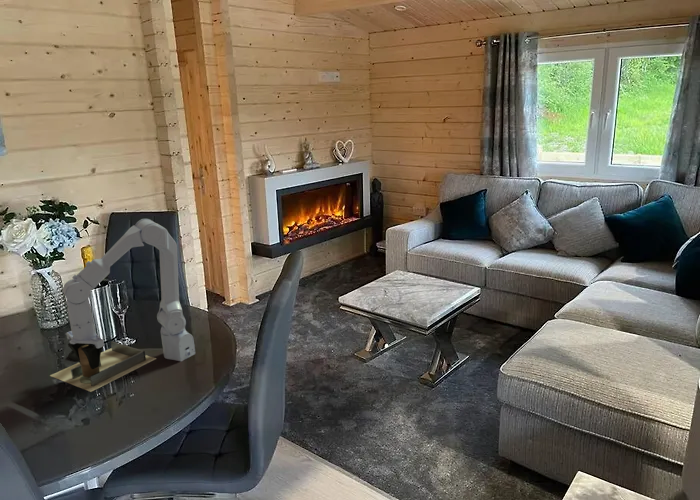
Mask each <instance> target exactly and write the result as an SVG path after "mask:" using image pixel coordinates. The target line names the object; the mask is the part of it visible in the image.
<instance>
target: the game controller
mask: <svg viewBox="0 0 700 500" xmlns="http://www.w3.org/2000/svg"><path fill="white" fill-rule="evenodd" d="M68 359H69V360H71V361H75V362H79V361H78V359H77V357H76V355H75V353H74V352H73V351H72V350H71V351H70V352H69V353H68Z"/></svg>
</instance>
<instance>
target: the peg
mask: <svg viewBox="0 0 700 500" xmlns="http://www.w3.org/2000/svg"><path fill="white" fill-rule="evenodd" d="M86 346H88V345H84V346H81V347H80V348H78V352H79V358H80V363H81V368H82V373H83V376H84V377H90V376H92V375H94V374H96V373H98V372H100V370H99V367H97V368H95V369H91V367H90V365H89V362H88V359H87V356H86V355H85V353H84V352H83V351H82V348H84V347H86Z"/></svg>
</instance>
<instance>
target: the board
mask: <svg viewBox="0 0 700 500" xmlns="http://www.w3.org/2000/svg"><path fill="white" fill-rule="evenodd" d="M129 357H131V356H127V355H124V354H121V353H118V352H115V351H112V348H108V349H106V350H104V351H101V355H100V361H101V367H99V370H100V371H102V370H104V369H106V368H108V367H110V366H112V365H115V364H117V363H119V362H121V361H123V360H125V359H127V358H129ZM145 357H146V360H145V361H143V362H141V363H139V364H137V365H135V366H133V367H131V368H129V369H127V370H125V371H123V372H121V373H119V374H117V375H115V376H113V377H111V378H109V379H107V380H105V381H103V382H101V383H99V384H97V385H95V386H93V387H92V386H91V381H90V377H84V376H83V375H82V376H80V377H78V378H76V379H72V374H71V369H73V368H75V367H77V366H79V365H81V364H80V363H79V362H77V363H75V364H73V365H70V366H68V367H65V368H63V369H61V370H59V371H57V372H55V373H52V374H50V375H49V377H51V378H55V379H57V380H60V381H62V382H64V383H67V384H69V385H72V386H75V387H77V388H80V389H82V390H85V391H88V392H90V393H92V392H94V391H95V390H98V389H100V388H101V387H104V386H106V385H108V384H110V383H112V382H113V381H115V380H118V379H119V378H122V377H123V376H125V375H127V374H129V373H132V372H133V371H135V370H137V369H140V368H141V367H143V366H145V365H147V364H149V363H151V362H153V361H155V360H157V358H156V357H153V356H149V355H147V354H145Z"/></svg>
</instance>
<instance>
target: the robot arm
mask: <svg viewBox="0 0 700 500" xmlns="http://www.w3.org/2000/svg"><path fill="white" fill-rule="evenodd" d="M143 242H144V243H146V244H147V245H150V246H152V247H154V248H155V249H157V250H159V267H160V268H159V270H160V271H159V272H160V291H161V292H160V294H161V300H160V302H159V310H158V311H157V314H156V318H157V322H158V323H159V324H160V325H161V328H160V337H161V344H162V351H163V357H164V358H165V359H167V360H173V361H178V362H183V361H185V360H187V359H189V358H190V357H192V356H194V355H196V348H195V347H196V346H195V340H194V339H195V338H194V336H193V335H192V334H191V333H189V331H187V330H186V325H187V321H186V318H185V316H184V313H183V308H182V305H181V303H180V291H179V290H180V288H179V287H180V285H179V284H180V283H179V265H178V264H179V262H178V261H179V259H178V255H179V254H178V244H177V242H176V241H175V239H174V238H173V237H172V236H171V234H170V233H169V231H168V229H167V228H165V227H164V226H162V225H160V224H159V223H156V222H155V221H153V220H152V219H150V218H141V219H139V220H138V221H137V222H136V223H135V225H134V224H133V225H132V226H131V227H129V228H128V229H127V230H126V232H125V233H124V234H123V235H122V236H121V237H120V238H119V239H118V240H117V241H116V242H115V243H114V244H113V245H112V246H111V247H110V249H109V250H108V251H107V252H105V254H104V255H102V256H101V257H100V258H95V259H92V260H91V261H89V260H88V261H87V262H86V263H85V267H84V268H83V269H82V270H80V271H79V273H77V275H76V274H74V275H73V276H72V277H71V278H72V279H69V280H68V281H66V282H64V285H63V288H62V294H63V295H64V297H65V299H66V306H67V309H66V310H67V313H68V314H67V315H68V319H69V325H70V329H71V330H69V331H68V332H66V333H65V334H66V339H67V340H69V342H68V344H67V346H68V347H69V348H70V349H71V351H73V352H74V353H75V355H76V357H77V359H78V361H77V362H78V363H80V358H79V352H78V348H80V347H81V346H84V345H88V346H86V347H84V348H82V351H83V352H84V353H85V355H86V356H87V359H88V362H89V365H90V367H91V369H95V368H97V367H99V363H100V355H101V352H103V348H104V346H105V343H104V339H102V338H101V337H100V336H99V335H98V334H97V333H96V329H95V322H94V319H93V314H92V313H93V311H92V307H91V303H90V299H89V298H90V295H91V291H93V290H94V289H95V288H96V287H97V286H99V284H100V283H101V282H102V281H103V280H105V278H107V277H108V275H110V274H111V267H112V266H113V265H114V264H115V263H116V262H117V261H118V260H120V259H121V258H122V257H123V256H124V255H125V254H126V253H127V252H129V251H130V250H131V249H132V248H137V247H144V246H145V244H144V243H143ZM80 364H81V363H80Z"/></svg>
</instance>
